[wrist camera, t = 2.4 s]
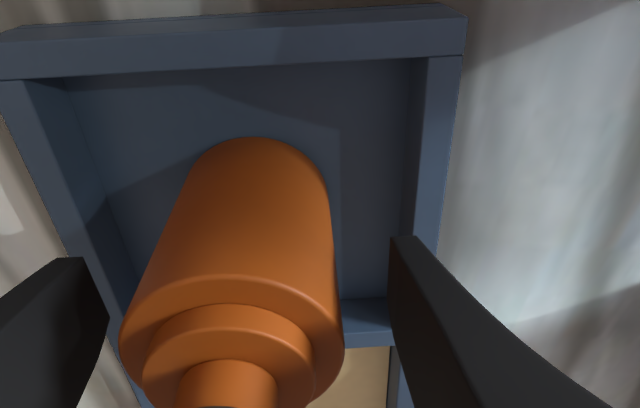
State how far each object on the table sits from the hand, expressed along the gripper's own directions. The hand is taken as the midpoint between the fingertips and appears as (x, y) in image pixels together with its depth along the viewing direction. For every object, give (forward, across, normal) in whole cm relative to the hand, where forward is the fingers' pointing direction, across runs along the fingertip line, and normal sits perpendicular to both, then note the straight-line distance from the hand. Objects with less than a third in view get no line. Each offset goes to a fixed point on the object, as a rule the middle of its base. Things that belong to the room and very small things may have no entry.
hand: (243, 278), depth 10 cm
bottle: (+3, 0, 0) cm, 4 cm away
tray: (+4, 0, +5) cm, 6 cm away
